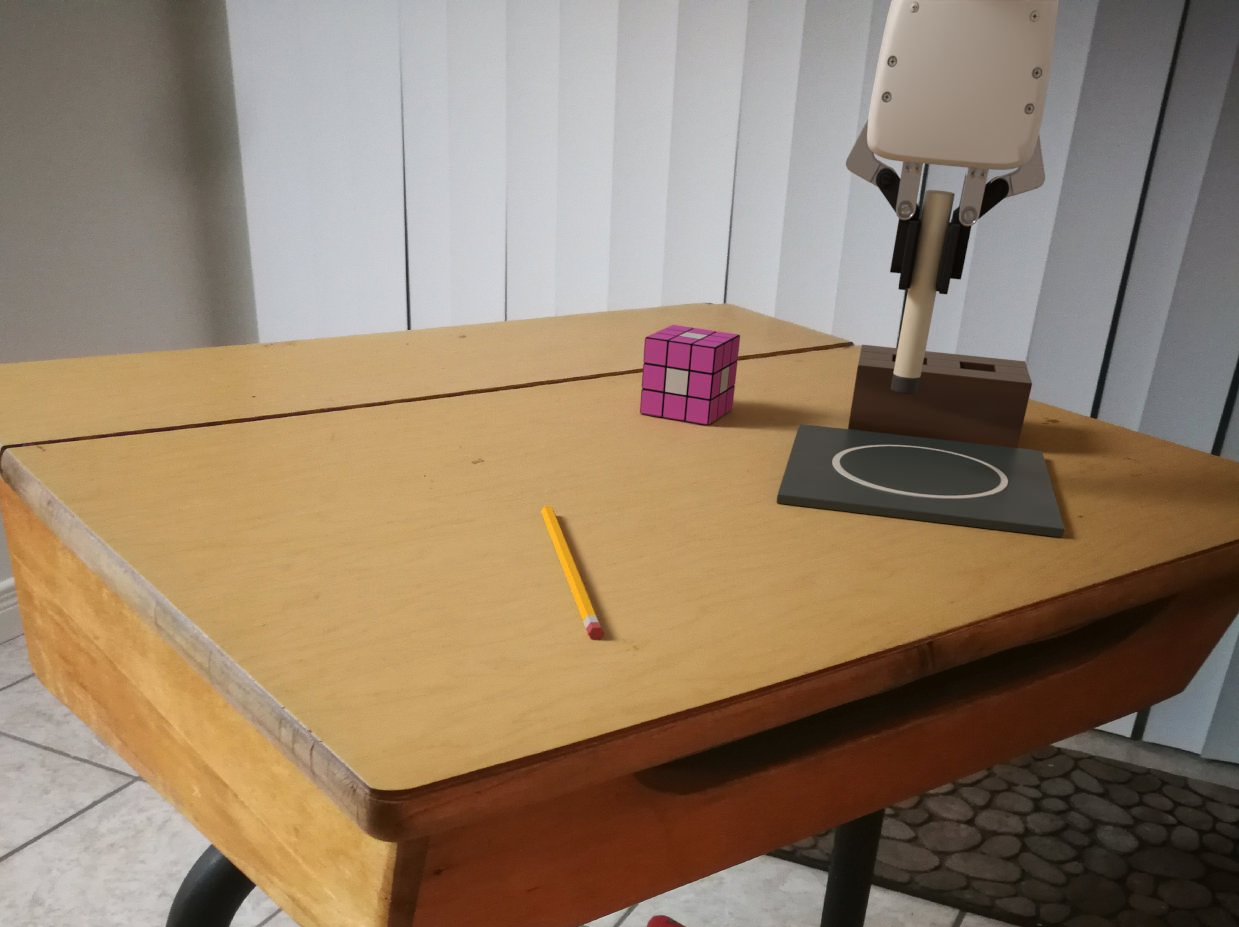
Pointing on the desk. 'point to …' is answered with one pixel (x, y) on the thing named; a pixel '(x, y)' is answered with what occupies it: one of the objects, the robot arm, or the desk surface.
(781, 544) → the desk surface
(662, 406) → the puzzle toy
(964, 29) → the robot arm
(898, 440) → the board
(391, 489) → the desk surface
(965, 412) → the holder
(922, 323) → the marker
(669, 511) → the desk surface
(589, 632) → the pencil
